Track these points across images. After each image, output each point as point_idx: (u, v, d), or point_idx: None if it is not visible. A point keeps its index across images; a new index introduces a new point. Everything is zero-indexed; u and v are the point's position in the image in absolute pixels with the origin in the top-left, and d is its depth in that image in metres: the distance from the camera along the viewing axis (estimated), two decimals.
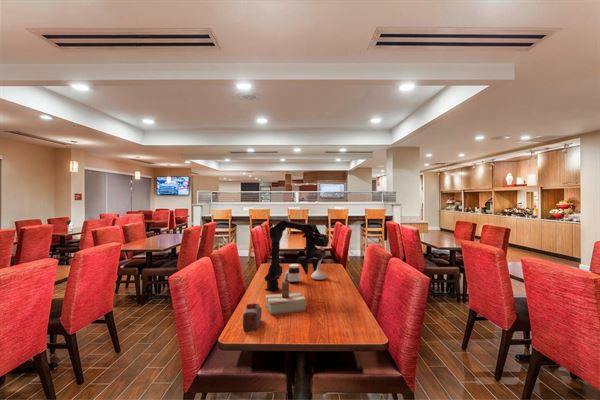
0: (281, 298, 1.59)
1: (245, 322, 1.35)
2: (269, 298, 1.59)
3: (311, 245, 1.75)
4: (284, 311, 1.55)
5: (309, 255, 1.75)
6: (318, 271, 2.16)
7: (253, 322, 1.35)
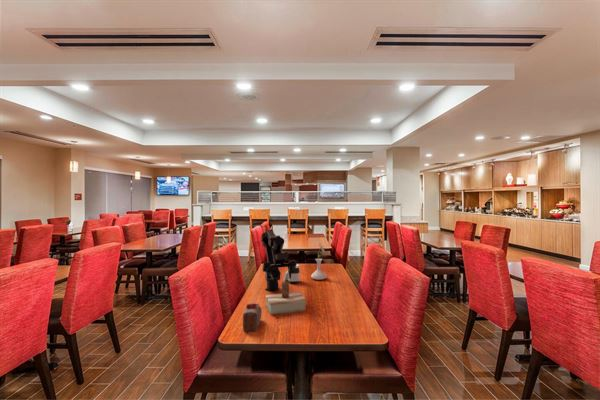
0: (281, 298, 1.59)
1: (245, 322, 1.35)
2: (269, 298, 1.59)
3: (274, 253, 1.77)
4: (284, 311, 1.55)
5: (274, 262, 1.74)
6: (318, 271, 2.16)
7: (253, 322, 1.35)
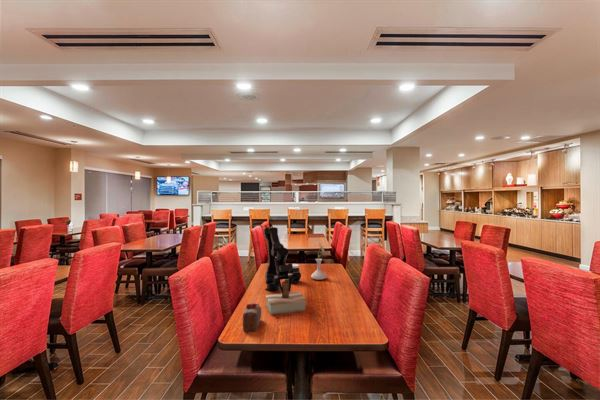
0: (281, 298, 1.59)
1: (245, 322, 1.35)
2: (269, 298, 1.59)
3: (277, 264, 1.68)
4: (284, 311, 1.55)
5: (278, 274, 1.65)
6: (318, 271, 2.16)
7: (253, 322, 1.35)
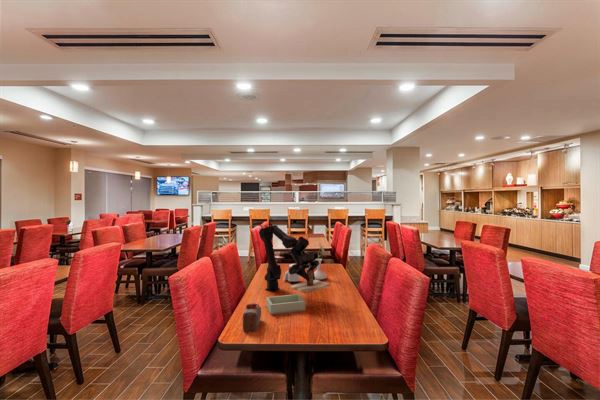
0: (308, 286, 1.65)
1: (245, 322, 1.34)
2: (298, 287, 1.62)
3: (296, 254, 1.72)
4: (284, 311, 1.55)
5: (299, 264, 1.70)
6: (318, 271, 2.16)
7: (253, 323, 1.35)
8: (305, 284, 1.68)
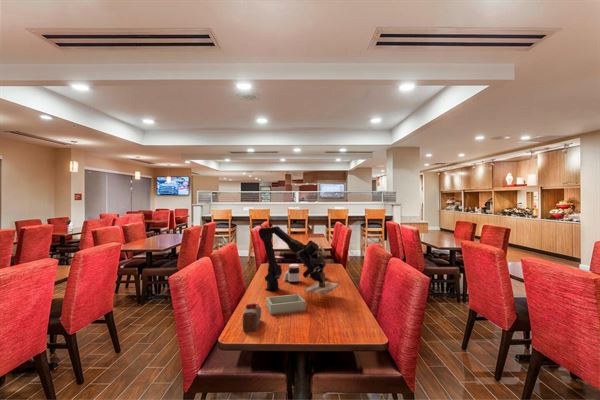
0: (322, 288, 1.73)
1: (245, 322, 1.34)
2: (314, 290, 1.68)
3: (306, 258, 1.78)
4: (284, 311, 1.55)
5: (311, 267, 1.76)
6: None
7: (253, 323, 1.35)
8: (317, 286, 1.75)
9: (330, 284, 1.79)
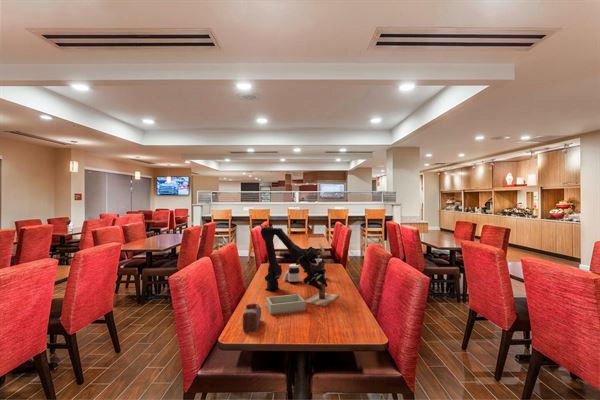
0: (322, 299, 1.73)
1: (245, 322, 1.34)
2: (314, 302, 1.69)
3: (307, 264, 1.78)
4: (284, 311, 1.55)
5: (311, 273, 1.76)
6: None
7: (253, 323, 1.35)
8: (317, 298, 1.76)
9: (330, 295, 1.79)
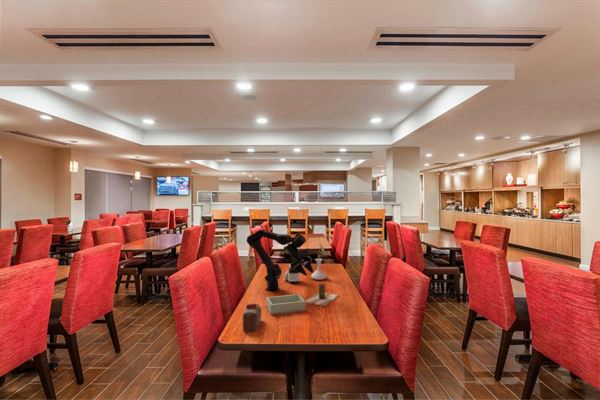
0: (322, 299, 1.73)
1: (245, 322, 1.34)
2: (314, 302, 1.68)
3: (294, 250, 1.82)
4: (284, 311, 1.55)
5: (298, 259, 1.80)
6: (318, 271, 2.16)
7: (253, 323, 1.35)
8: (317, 298, 1.76)
9: (330, 295, 1.80)
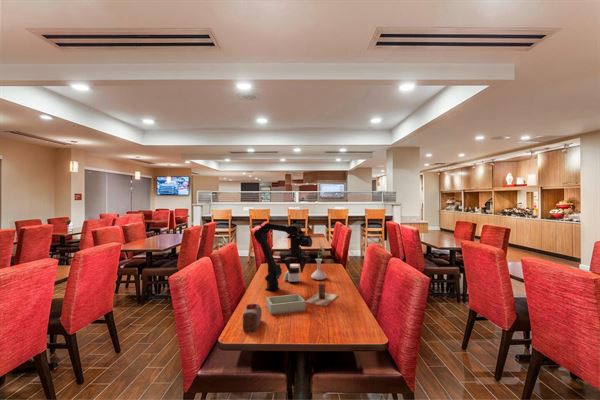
0: (322, 299, 1.73)
1: (245, 322, 1.34)
2: (315, 302, 1.68)
3: (296, 245, 1.83)
4: (284, 311, 1.55)
5: (299, 254, 1.85)
6: (318, 271, 2.16)
7: (253, 323, 1.34)
8: (317, 298, 1.75)
9: (330, 295, 1.80)
